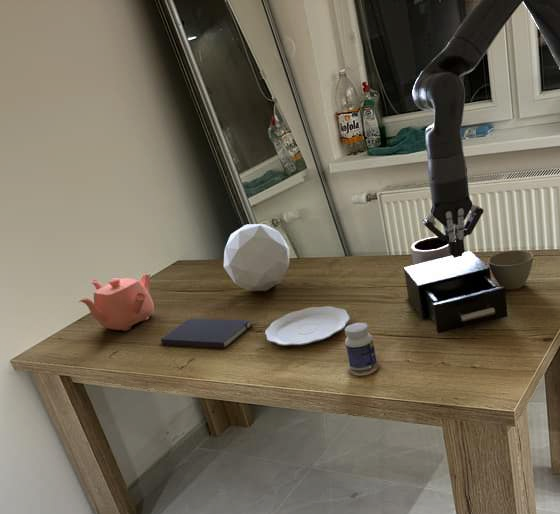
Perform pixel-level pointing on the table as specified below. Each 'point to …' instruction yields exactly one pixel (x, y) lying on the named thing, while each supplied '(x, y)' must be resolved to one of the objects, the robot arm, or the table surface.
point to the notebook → (206, 332)
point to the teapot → (121, 302)
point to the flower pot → (511, 268)
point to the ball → (256, 257)
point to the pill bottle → (360, 349)
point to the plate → (307, 325)
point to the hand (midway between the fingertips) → (457, 256)
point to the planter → (429, 250)
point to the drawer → (464, 302)
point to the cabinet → (440, 276)
